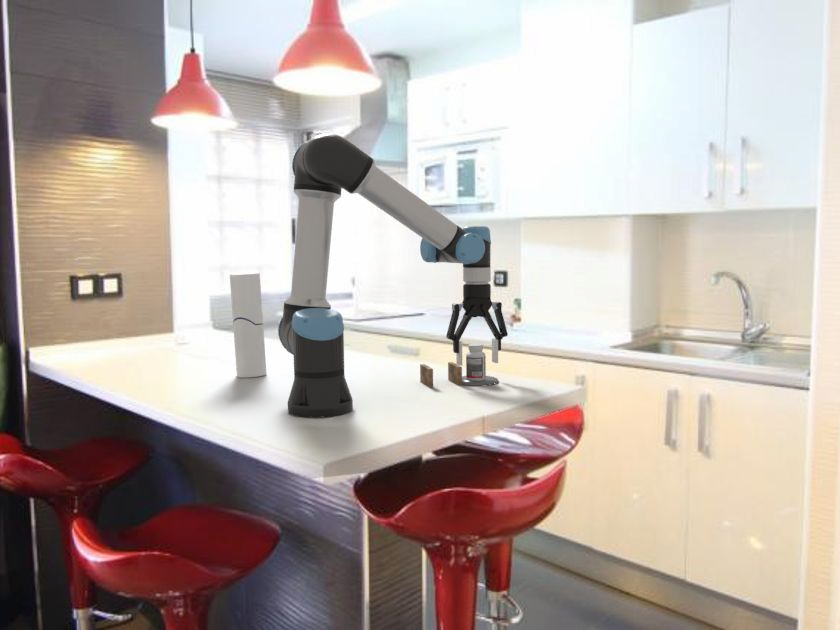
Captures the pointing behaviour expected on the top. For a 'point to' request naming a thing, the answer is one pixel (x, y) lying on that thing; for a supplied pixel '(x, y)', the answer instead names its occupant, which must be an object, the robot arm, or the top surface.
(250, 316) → the container
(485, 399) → the top surface
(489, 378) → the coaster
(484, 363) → the pill bottle
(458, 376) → the cradle
